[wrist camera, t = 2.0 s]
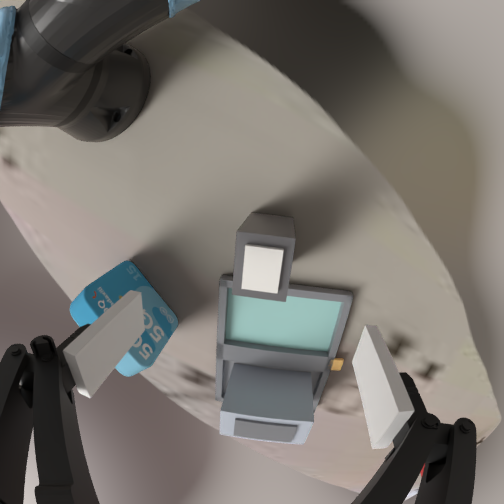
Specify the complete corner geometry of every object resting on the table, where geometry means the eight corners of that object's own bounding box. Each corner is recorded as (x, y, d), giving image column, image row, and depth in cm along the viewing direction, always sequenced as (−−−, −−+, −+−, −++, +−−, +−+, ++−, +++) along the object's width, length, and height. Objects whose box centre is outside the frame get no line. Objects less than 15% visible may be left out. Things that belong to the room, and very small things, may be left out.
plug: (251, 212, 33) (235, 232, 23) (293, 217, 32) (295, 240, 22) (246, 259, 35) (230, 297, 25) (286, 264, 34) (285, 304, 24)
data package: (181, 320, 39) (148, 372, 27) (162, 332, 40) (128, 382, 29) (130, 257, 37) (79, 291, 25) (113, 272, 38) (64, 308, 27)
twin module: (233, 363, 40) (219, 412, 30) (311, 372, 39) (314, 424, 29) (231, 388, 42) (219, 436, 32) (303, 397, 40) (303, 446, 31)
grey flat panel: (222, 274, 36) (219, 279, 34) (361, 292, 34) (364, 297, 33) (217, 394, 43) (215, 400, 41) (322, 406, 41) (322, 413, 40)
